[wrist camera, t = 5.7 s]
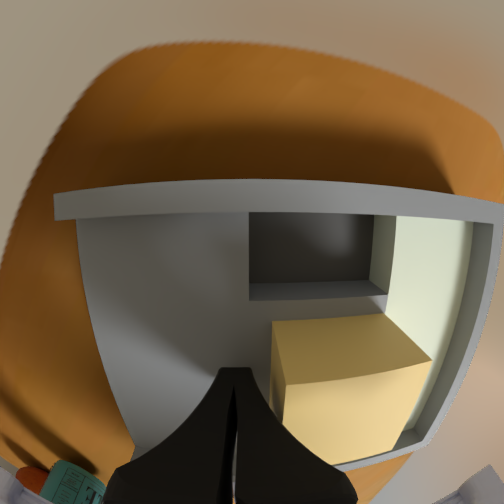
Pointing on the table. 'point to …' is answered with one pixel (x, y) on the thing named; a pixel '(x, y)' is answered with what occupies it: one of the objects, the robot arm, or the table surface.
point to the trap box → (275, 284)
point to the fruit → (32, 478)
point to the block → (345, 383)
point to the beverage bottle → (71, 485)
